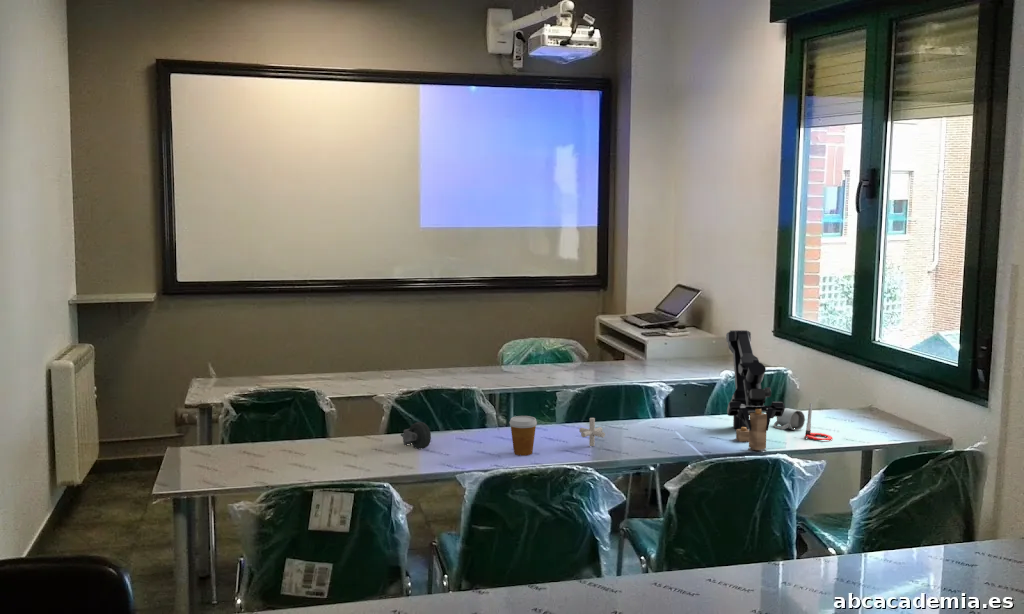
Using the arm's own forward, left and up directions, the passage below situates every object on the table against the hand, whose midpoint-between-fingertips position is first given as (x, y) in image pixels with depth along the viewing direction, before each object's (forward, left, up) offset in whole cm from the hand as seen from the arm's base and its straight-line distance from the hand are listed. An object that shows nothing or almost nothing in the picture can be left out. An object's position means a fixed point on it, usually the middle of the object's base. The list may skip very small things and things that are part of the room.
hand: (758, 430), depth 301 cm
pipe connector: (-14, -55, -8) cm, 57 cm away
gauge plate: (-8, 0, -8) cm, 11 cm away
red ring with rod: (-16, +29, -8) cm, 35 cm away
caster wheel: (-21, -117, -8) cm, 119 cm away
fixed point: (-14, 0, -7) cm, 16 cm away
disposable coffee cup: (-8, -80, -8) cm, 81 cm away
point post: (-1, 0, -7) cm, 7 cm away
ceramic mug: (-31, +24, -8) cm, 40 cm away
